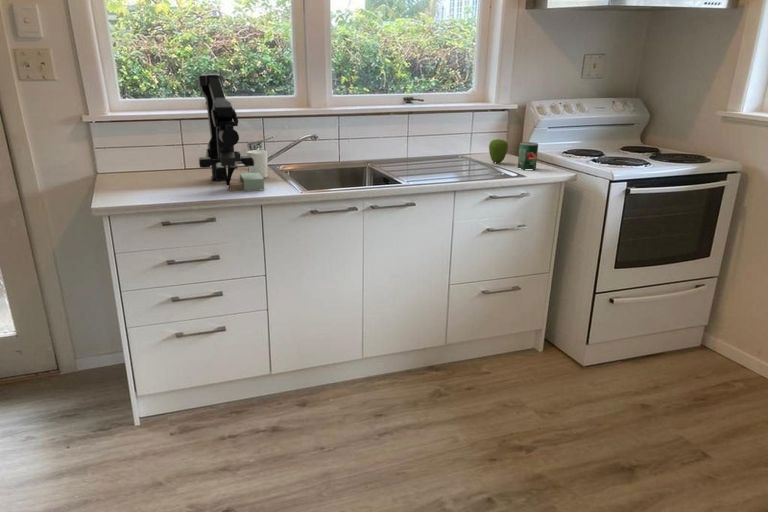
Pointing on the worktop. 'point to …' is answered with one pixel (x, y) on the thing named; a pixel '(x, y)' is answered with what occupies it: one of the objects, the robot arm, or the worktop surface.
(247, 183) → the green channel beam
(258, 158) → the white cup
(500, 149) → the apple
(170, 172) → the worktop surface
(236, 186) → the board
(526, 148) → the canned tomato
